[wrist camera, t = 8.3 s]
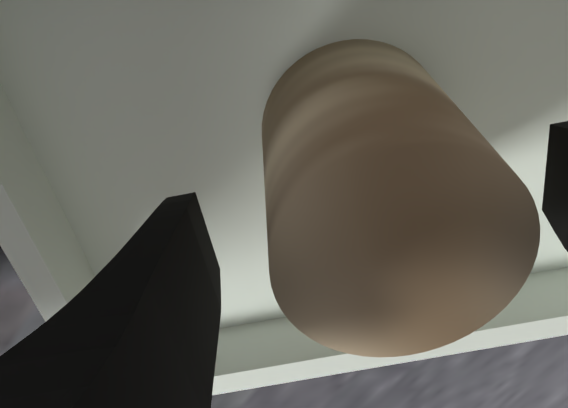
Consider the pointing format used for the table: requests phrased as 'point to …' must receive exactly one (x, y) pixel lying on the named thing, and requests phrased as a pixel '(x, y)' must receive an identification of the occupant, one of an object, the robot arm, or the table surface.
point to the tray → (244, 143)
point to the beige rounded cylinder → (387, 206)
